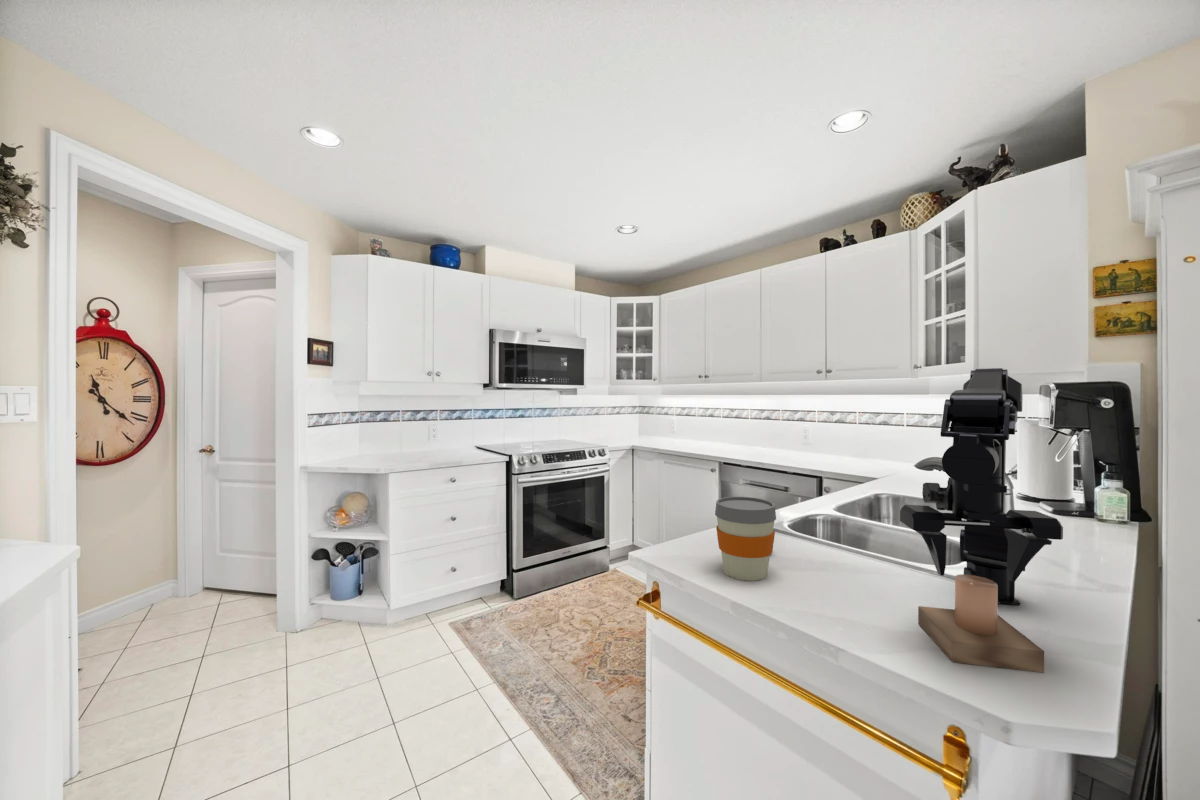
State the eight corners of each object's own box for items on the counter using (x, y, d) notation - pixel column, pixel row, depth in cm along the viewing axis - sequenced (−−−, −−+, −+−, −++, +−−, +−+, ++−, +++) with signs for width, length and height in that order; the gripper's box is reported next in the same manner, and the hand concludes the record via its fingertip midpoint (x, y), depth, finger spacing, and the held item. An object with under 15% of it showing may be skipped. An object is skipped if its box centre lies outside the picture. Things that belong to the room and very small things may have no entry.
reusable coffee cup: (771, 563, 103) (771, 497, 103) (780, 586, 91) (780, 511, 91) (714, 559, 106) (714, 495, 106) (715, 581, 94) (715, 508, 94)
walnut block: (995, 631, 74) (995, 613, 74) (1043, 672, 63) (1044, 651, 63) (918, 623, 76) (918, 606, 76) (951, 661, 66) (952, 641, 66)
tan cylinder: (985, 620, 71) (985, 576, 71) (1005, 637, 67) (1005, 589, 66) (948, 616, 73) (948, 573, 72) (965, 633, 68) (965, 586, 68)
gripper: (1015, 468, 75) (1014, 563, 75) (887, 464, 79) (886, 554, 79) (1066, 481, 64) (1065, 592, 64) (915, 476, 68) (914, 579, 69)
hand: (975, 577), depth 69 cm, fingers open, 9 cm apart
